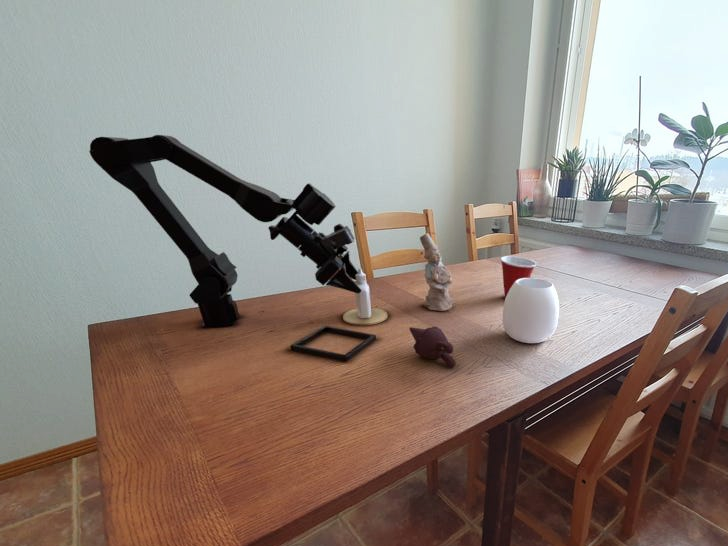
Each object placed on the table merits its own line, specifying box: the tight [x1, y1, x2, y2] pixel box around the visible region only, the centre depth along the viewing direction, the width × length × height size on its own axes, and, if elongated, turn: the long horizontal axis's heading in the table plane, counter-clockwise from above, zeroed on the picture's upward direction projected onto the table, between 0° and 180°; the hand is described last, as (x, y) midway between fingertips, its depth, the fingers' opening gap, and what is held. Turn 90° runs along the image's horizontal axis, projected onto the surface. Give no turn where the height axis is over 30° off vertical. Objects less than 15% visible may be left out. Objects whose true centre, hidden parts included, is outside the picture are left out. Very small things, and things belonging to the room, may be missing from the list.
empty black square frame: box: [289, 325, 377, 363], centre depth 82 cm, size 13×11×1 cm
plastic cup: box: [500, 255, 538, 299], centre depth 113 cm, size 11×11×12 cm
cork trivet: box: [342, 307, 388, 326], centre depth 96 cm, size 11×11×1 cm
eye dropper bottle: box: [354, 268, 372, 319], centre depth 93 cm, size 4×6×12 cm
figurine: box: [419, 232, 453, 312], centre depth 101 cm, size 9×8×20 cm
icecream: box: [408, 326, 457, 368], centre depth 78 cm, size 7×7×15 cm
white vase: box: [501, 277, 560, 344], centre depth 88 cm, size 13×13×14 cm
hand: (361, 286), depth 93 cm, fingers open, 9 cm apart
